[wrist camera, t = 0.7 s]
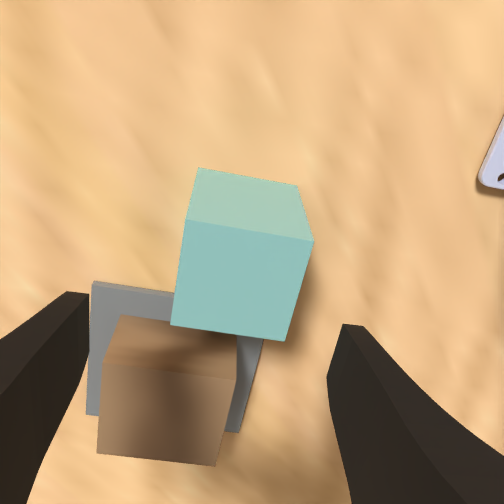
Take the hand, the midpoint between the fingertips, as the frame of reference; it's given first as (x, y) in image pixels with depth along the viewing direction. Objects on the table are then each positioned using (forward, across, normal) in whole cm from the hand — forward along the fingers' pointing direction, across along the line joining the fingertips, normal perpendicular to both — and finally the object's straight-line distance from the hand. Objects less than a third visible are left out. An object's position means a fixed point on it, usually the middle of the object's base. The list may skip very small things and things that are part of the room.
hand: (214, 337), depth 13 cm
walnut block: (+9, +2, +10) cm, 13 cm away
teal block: (+10, -1, +1) cm, 10 cm away
